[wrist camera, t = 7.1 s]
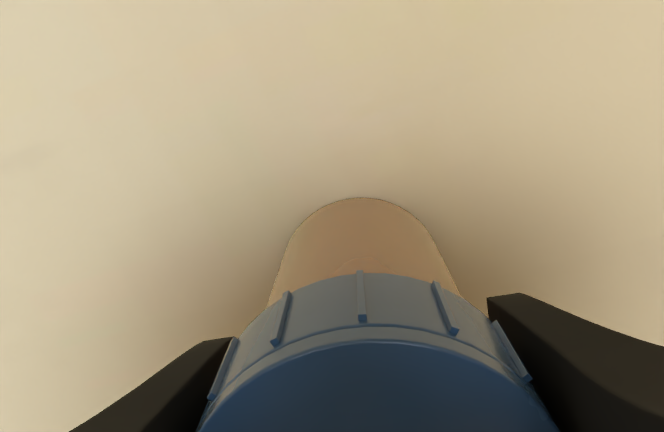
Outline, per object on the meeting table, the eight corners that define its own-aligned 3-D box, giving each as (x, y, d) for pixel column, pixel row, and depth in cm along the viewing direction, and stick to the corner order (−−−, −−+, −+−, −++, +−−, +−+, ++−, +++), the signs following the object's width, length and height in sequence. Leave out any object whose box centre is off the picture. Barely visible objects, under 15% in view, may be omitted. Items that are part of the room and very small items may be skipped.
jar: (310, 364, 17) (276, 648, 9) (259, 224, 16) (165, 396, 8) (458, 323, 16) (570, 580, 8) (416, 176, 15) (494, 303, 7)
